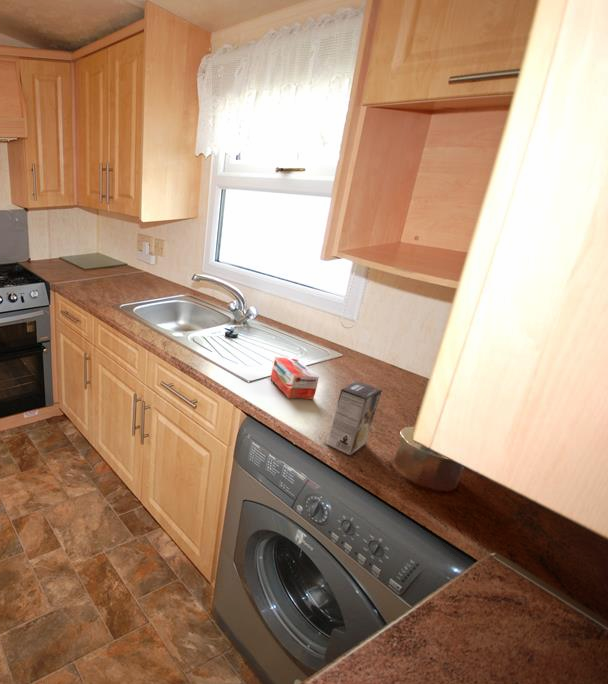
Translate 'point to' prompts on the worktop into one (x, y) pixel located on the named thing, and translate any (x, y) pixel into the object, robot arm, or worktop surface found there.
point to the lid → (407, 438)
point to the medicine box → (294, 378)
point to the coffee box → (353, 417)
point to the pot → (426, 468)
